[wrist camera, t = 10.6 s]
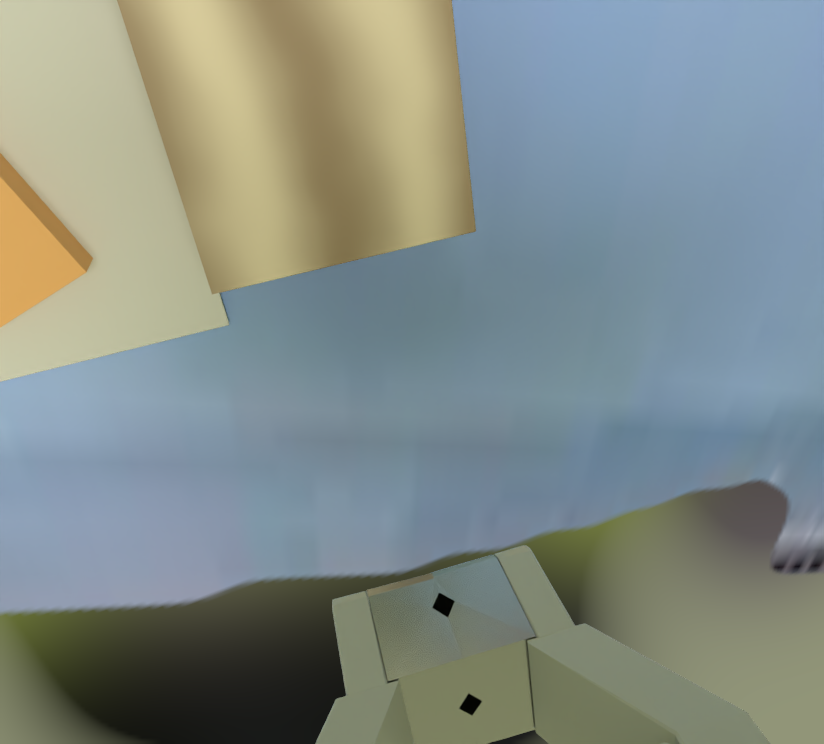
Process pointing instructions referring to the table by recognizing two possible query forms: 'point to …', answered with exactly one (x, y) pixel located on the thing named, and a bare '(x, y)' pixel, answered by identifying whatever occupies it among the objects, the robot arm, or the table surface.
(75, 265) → the orange tile
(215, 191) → the cylinder
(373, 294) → the table surface
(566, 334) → the table surface
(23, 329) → the cream board
